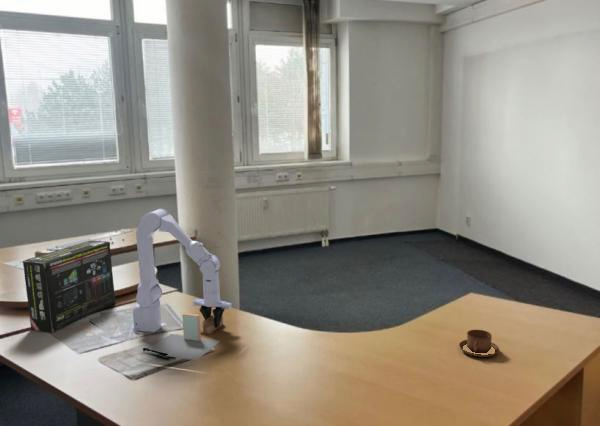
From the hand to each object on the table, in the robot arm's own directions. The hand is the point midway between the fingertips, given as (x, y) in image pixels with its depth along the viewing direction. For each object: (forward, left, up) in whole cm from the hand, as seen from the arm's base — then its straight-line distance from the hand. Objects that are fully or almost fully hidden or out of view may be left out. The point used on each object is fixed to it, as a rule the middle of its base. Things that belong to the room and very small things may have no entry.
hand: (213, 326), depth 191 cm
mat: (-2, -17, -1) cm, 17 cm away
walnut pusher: (0, 0, -2) cm, 2 cm away
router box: (-60, -3, -2) cm, 60 cm away
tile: (-2, -11, -1) cm, 11 cm away
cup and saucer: (+91, +9, -2) cm, 91 cm away
